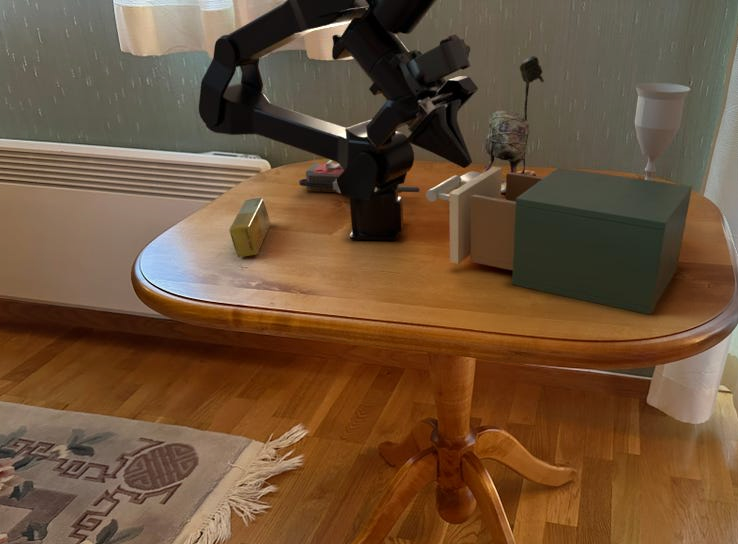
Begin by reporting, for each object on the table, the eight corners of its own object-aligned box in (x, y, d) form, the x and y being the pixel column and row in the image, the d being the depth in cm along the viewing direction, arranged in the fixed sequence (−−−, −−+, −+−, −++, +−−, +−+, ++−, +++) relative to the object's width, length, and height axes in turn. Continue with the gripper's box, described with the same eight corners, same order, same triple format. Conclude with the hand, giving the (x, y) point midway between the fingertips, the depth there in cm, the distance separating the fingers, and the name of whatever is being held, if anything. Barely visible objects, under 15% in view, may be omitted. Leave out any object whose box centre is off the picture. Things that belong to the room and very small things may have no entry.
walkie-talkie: (295, 195, 108) (418, 200, 106) (291, 168, 106) (417, 172, 104) (312, 179, 116) (427, 183, 114) (309, 153, 113) (426, 157, 112)
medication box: (252, 226, 97) (244, 199, 95) (271, 224, 97) (264, 196, 95) (236, 258, 87) (228, 228, 85) (257, 255, 87) (249, 225, 85)
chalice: (614, 218, 100) (631, 89, 90) (623, 204, 105) (639, 81, 96) (665, 225, 98) (687, 94, 88) (671, 210, 103) (693, 85, 93)
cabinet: (511, 284, 81) (515, 198, 75) (552, 245, 91) (558, 167, 85) (650, 315, 74) (665, 222, 69) (676, 269, 85) (692, 186, 79)
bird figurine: (481, 180, 116) (483, 53, 105) (547, 181, 115) (556, 53, 105) (479, 195, 109) (481, 60, 98) (550, 196, 108) (559, 61, 98)
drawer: (416, 255, 86) (414, 187, 81) (461, 224, 95) (461, 161, 90) (568, 287, 78) (575, 214, 73) (600, 250, 87) (608, 183, 83)
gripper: (381, 18, 70) (477, 140, 71) (463, 5, 84) (542, 107, 85) (327, 93, 77) (415, 202, 78) (411, 69, 91) (484, 162, 92)
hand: (468, 165), depth 83 cm, fingers closed
